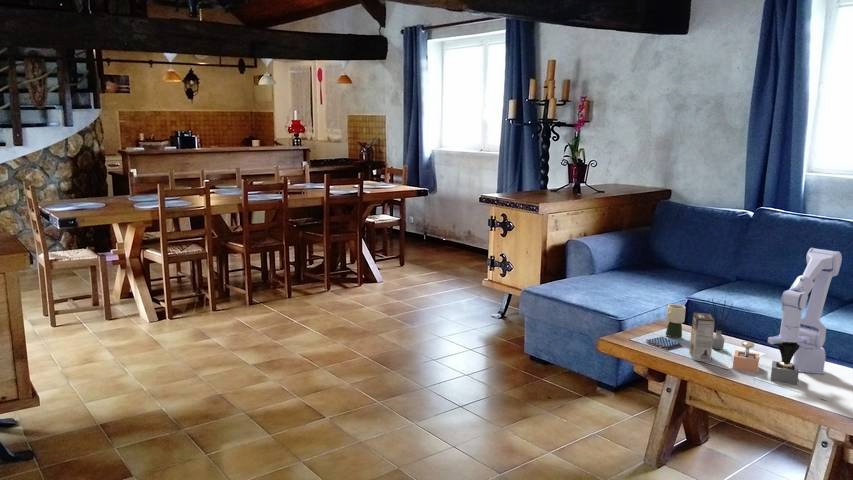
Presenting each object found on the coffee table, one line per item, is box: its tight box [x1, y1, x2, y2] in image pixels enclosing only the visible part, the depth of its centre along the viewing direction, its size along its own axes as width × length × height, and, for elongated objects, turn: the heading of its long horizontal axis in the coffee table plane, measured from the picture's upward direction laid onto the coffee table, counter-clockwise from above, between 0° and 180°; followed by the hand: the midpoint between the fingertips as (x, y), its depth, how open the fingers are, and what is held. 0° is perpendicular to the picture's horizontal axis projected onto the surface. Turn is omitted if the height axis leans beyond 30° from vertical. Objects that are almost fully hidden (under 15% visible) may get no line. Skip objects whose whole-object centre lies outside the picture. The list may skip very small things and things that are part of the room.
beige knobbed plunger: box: [778, 360, 793, 369], centre depth 231 cm, size 5×5×6 cm
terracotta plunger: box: [739, 340, 755, 359], centre depth 241 cm, size 5×5×6 cm
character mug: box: [665, 303, 687, 339], centre depth 275 cm, size 11×7×13 cm, turn 125°
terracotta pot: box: [732, 350, 760, 374], centre depth 241 cm, size 8×8×5 cm
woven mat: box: [645, 336, 683, 351], centre depth 265 cm, size 10×11×2 cm
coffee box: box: [688, 312, 716, 362], centre depth 250 cm, size 9×6×16 cm
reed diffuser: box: [711, 298, 734, 350], centre depth 260 cm, size 10×7×20 cm
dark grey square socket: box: [770, 360, 800, 386], centre depth 231 cm, size 8×8×5 cm
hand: (785, 363), depth 230 cm, fingers closed, pressing on beige knobbed plunger
